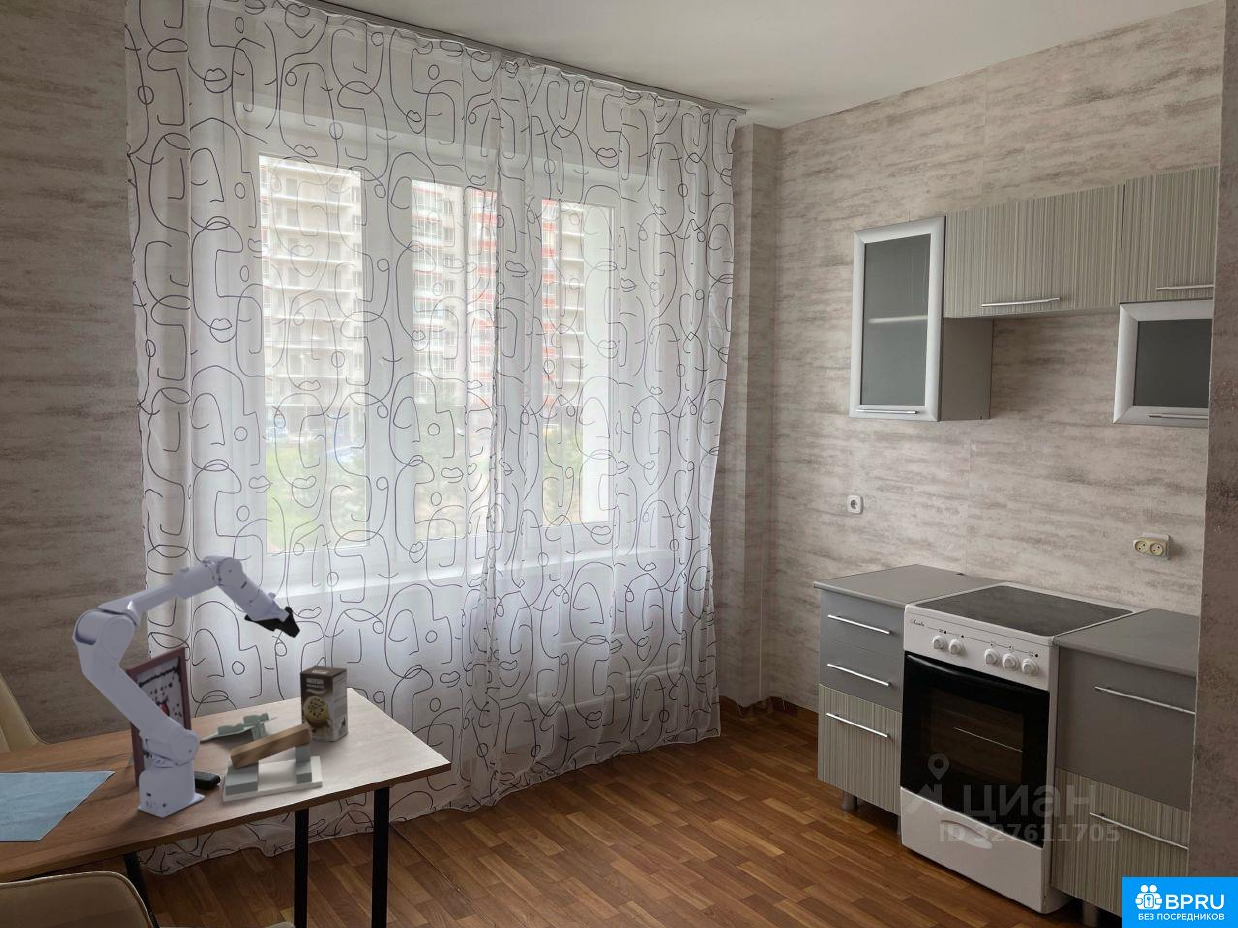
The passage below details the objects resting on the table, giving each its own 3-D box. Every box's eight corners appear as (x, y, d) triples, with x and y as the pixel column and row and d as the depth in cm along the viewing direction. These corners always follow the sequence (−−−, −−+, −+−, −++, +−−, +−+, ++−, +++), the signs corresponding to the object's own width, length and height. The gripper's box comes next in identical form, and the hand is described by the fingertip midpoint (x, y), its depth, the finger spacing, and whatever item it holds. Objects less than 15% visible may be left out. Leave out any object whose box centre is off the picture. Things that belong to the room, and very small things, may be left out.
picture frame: (140, 785, 185) (133, 669, 183) (100, 781, 187) (93, 667, 185) (193, 753, 201) (188, 646, 199) (156, 750, 203) (150, 644, 201)
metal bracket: (284, 706, 215) (231, 727, 202) (289, 729, 215) (237, 752, 202) (246, 713, 222) (193, 734, 209) (251, 736, 222) (198, 758, 208)
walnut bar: (234, 769, 185) (230, 756, 185) (235, 762, 189) (231, 749, 188) (311, 740, 190) (307, 727, 190) (311, 733, 194) (307, 721, 194)
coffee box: (300, 738, 209) (298, 672, 208) (317, 728, 215) (314, 664, 214) (333, 742, 206) (331, 675, 205) (349, 732, 213) (347, 667, 211)
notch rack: (223, 801, 177) (221, 772, 176) (226, 773, 190) (225, 746, 189) (322, 785, 184) (321, 757, 183) (319, 759, 197) (318, 733, 196)
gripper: (280, 585, 188) (317, 621, 196) (240, 575, 195) (277, 611, 204) (259, 612, 184) (297, 648, 192) (219, 601, 192) (257, 636, 200)
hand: (285, 631), depth 198 cm, fingers open, 7 cm apart
